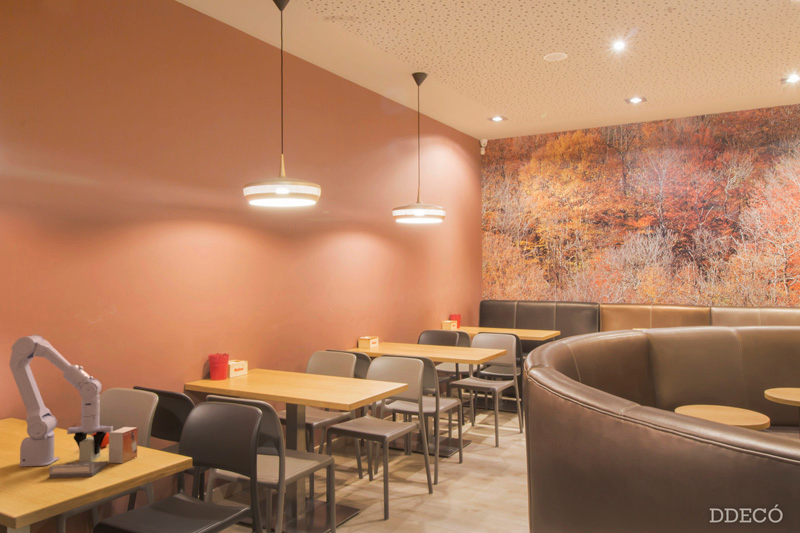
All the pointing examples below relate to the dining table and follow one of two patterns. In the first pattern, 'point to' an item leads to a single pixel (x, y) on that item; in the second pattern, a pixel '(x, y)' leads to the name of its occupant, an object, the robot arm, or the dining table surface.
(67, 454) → the dining table surface
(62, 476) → the grey square slab
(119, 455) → the small box
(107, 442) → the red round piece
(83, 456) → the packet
